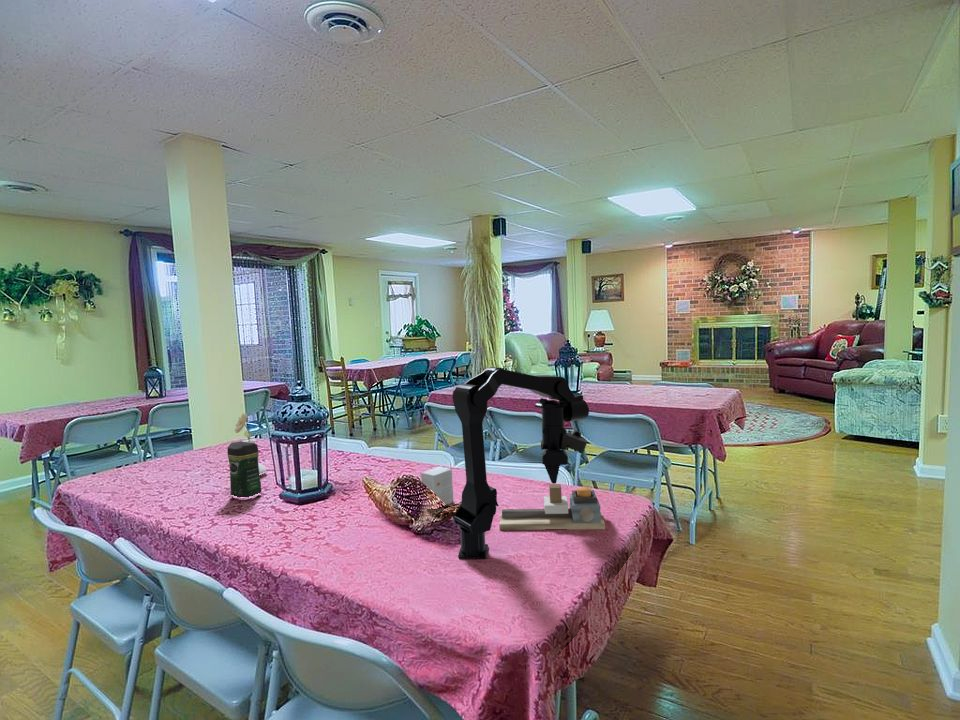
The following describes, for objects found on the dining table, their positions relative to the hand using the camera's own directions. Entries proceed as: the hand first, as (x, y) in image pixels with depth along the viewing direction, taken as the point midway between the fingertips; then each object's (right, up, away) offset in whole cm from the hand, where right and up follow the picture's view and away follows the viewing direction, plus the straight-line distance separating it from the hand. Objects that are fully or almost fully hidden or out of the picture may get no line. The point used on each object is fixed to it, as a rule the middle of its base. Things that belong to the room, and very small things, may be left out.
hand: (553, 483), depth 131 cm
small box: (-32, -12, +20) cm, 40 cm away
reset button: (+8, -5, +2) cm, 10 cm away
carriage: (+1, -8, +3) cm, 8 cm away
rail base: (0, -11, +3) cm, 12 cm away
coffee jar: (-97, -14, +35) cm, 104 cm away
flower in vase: (-106, -12, +58) cm, 121 cm away
